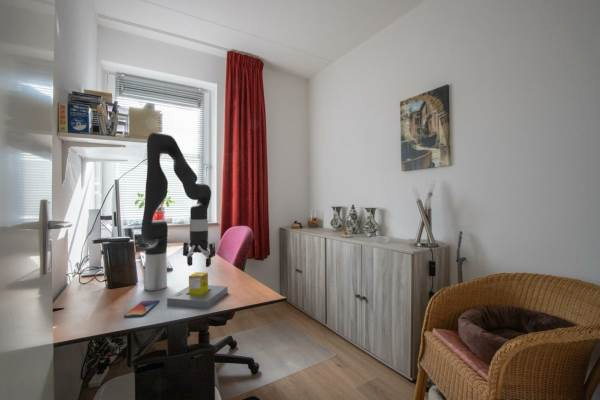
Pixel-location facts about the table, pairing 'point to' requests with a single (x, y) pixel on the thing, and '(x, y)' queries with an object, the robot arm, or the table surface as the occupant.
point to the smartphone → (141, 309)
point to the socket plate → (197, 297)
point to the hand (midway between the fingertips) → (199, 266)
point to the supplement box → (198, 284)
